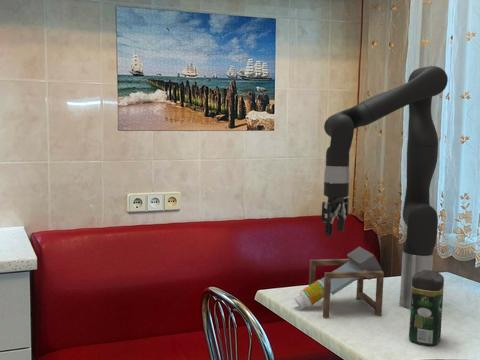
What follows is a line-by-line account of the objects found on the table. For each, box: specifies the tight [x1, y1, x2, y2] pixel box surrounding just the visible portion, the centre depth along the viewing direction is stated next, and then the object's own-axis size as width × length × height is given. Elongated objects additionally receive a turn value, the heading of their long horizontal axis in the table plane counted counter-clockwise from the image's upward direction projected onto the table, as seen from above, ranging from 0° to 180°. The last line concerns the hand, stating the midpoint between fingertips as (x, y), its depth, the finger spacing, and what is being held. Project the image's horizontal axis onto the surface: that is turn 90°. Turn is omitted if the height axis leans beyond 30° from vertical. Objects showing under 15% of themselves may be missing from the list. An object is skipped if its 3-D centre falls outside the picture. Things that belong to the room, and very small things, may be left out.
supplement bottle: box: [294, 279, 324, 310], centre depth 167 cm, size 5×5×10 cm
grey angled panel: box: [319, 246, 383, 296], centre depth 167 cm, size 17×12×6 cm
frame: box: [308, 258, 385, 319], centre depth 167 cm, size 18×16×14 cm
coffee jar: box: [408, 270, 445, 346], centre depth 144 cm, size 10×8×19 cm
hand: (334, 233), depth 165 cm, fingers open, 8 cm apart
